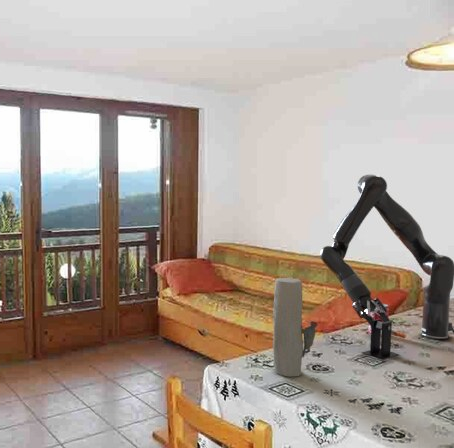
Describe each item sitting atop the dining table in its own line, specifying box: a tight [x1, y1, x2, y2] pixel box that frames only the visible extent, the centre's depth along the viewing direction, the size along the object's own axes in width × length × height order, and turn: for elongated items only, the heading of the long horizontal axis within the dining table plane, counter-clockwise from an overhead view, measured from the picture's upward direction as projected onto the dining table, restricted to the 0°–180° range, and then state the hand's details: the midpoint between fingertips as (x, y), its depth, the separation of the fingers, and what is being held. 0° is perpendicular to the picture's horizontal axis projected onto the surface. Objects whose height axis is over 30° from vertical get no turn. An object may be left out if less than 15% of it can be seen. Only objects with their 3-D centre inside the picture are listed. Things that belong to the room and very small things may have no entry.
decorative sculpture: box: [272, 277, 318, 378], centre depth 158 cm, size 14×10×30 cm
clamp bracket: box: [361, 319, 400, 361], centre depth 175 cm, size 10×8×13 cm
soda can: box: [367, 302, 390, 335], centre depth 200 cm, size 7×7×13 cm
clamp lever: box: [376, 321, 407, 339], centre depth 177 cm, size 12×7×2 cm, turn 124°
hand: (381, 324), depth 185 cm, fingers open, 8 cm apart
